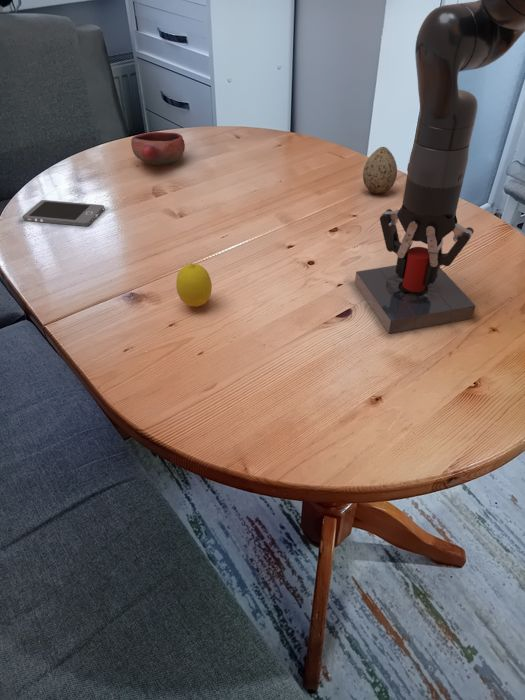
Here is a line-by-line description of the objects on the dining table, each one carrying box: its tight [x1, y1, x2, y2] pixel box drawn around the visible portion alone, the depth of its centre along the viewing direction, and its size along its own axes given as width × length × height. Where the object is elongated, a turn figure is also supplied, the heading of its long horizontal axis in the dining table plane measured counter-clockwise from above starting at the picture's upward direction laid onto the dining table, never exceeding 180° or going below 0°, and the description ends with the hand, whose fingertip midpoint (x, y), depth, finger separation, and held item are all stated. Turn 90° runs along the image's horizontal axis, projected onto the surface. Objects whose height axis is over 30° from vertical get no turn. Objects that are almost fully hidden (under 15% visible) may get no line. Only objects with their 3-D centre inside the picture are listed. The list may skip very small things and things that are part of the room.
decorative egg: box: [362, 146, 398, 195], centre depth 115 cm, size 7×7×10 cm
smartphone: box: [21, 199, 105, 227], centre depth 113 cm, size 15×8×1 cm, turn 77°
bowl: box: [130, 131, 186, 166], centre depth 129 cm, size 16×13×8 cm
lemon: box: [175, 263, 213, 308], centre depth 85 cm, size 6×6×8 cm
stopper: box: [402, 246, 430, 293], centre depth 84 cm, size 4×4×6 cm
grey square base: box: [354, 264, 477, 335], centre depth 87 cm, size 14×14×2 cm
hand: (414, 279), depth 85 cm, fingers closed on stopper, 3 cm apart
